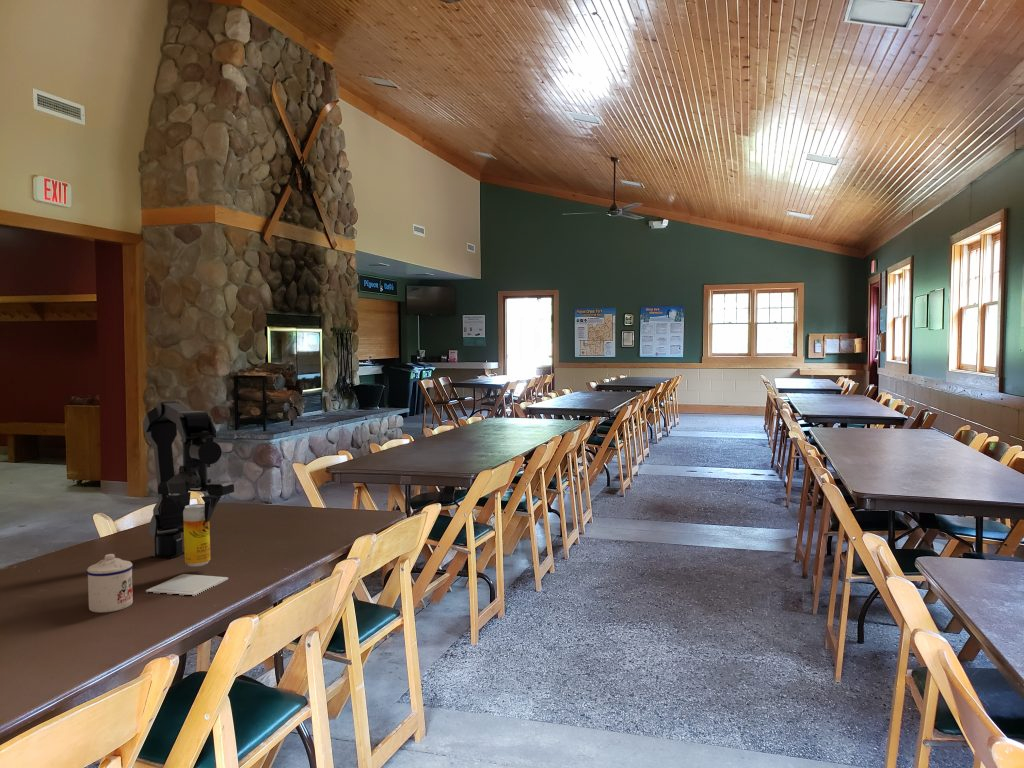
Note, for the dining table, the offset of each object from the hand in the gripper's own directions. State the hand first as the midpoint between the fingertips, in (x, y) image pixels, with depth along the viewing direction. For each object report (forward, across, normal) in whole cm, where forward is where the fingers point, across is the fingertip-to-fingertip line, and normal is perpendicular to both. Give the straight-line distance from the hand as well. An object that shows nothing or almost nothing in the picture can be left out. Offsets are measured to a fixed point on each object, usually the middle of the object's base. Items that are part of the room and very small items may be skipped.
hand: (196, 521), depth 187 cm
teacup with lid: (+14, -4, -25) cm, 29 cm away
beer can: (+11, 0, 0) cm, 11 cm away
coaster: (+13, +4, -10) cm, 17 cm away
